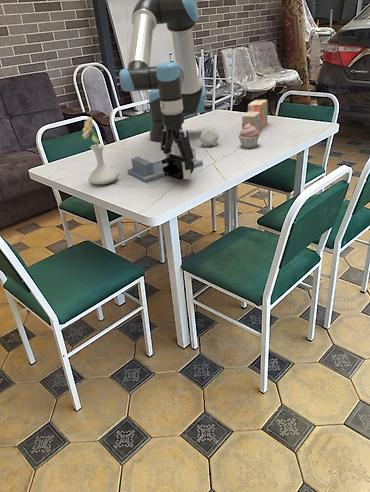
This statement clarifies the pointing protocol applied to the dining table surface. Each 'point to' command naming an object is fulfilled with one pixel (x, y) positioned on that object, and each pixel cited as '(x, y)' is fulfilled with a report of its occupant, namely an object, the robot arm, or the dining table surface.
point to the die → (209, 136)
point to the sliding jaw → (177, 152)
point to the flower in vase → (98, 159)
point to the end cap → (175, 167)
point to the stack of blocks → (256, 114)
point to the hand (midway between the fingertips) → (178, 174)
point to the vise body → (150, 169)
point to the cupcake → (249, 136)
